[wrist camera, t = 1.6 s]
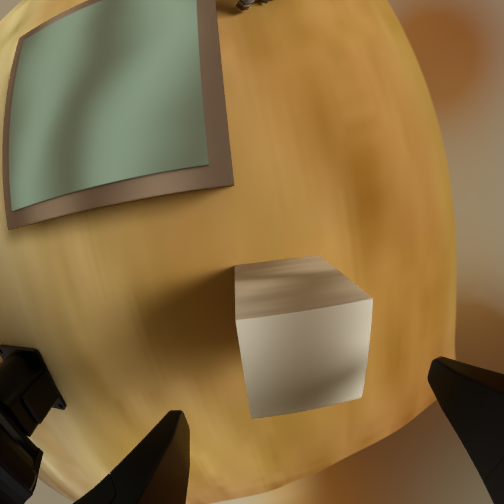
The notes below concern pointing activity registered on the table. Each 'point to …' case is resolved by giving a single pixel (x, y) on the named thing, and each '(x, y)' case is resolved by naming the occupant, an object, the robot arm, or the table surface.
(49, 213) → the brown and green tray
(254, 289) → the maple block
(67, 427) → the table surface
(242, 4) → the grey brown jointed piece
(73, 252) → the table surface
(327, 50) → the table surface
